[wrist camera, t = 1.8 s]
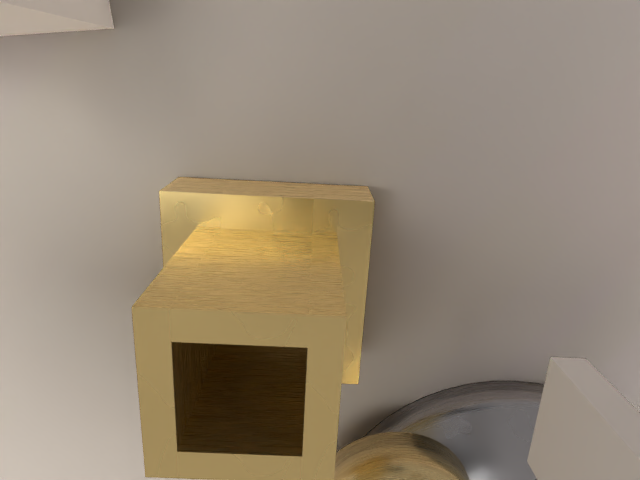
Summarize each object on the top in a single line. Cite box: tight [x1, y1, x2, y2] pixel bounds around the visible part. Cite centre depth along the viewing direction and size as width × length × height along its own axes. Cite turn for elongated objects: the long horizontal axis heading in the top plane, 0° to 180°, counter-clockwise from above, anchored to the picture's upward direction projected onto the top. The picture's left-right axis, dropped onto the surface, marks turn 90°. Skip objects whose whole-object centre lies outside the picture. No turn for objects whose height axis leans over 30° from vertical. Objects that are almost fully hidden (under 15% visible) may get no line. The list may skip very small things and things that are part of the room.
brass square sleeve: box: [132, 177, 375, 480], centre depth 13 cm, size 6×6×7 cm
